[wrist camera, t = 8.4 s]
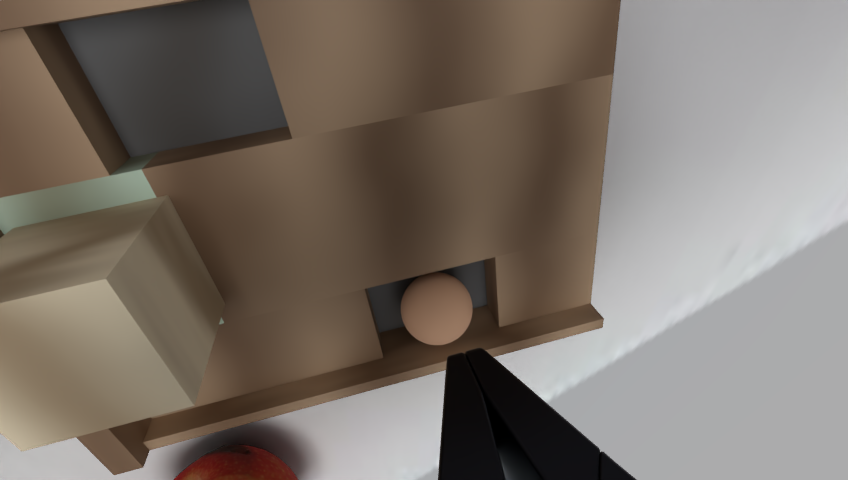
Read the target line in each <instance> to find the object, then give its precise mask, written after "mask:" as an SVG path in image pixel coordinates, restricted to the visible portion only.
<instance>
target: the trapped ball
mask: <svg viewBox="0 0 848 480" xmlns="http://www.w3.org/2000/svg"><path fill="white" fill-rule="evenodd" d="M472 312H473V306H472V300H471V297H470V294H469V292H468V290H467V289H466V287H465V286H464V285H463V284H462V283H461V282H460V281H459V280H458V279H456V278H455V277H453V276H451V275H448V274H445V273H438V272H434V273H428V274H424V275H422V276H420V277H418V278H417V279H415V280H414V281H413V282H412V283H411V284H410V285H409V286H408V287H407V289H406V291H405V292H404V294H403V297H402V301H401V316H402V320H403V323H404V325H405V327H406V329H407V330H408V331H409V333H410V334H411V335H412V336H413V337H415V338H416V339H417V340H419V341H421V342H423V343H426V344H430V345H444V344H448V343H450V342H453V341H455V340H456V339H458V338H459V337H460V336H461V335H462V334H463V333H464V332H465V331H466V329H467V328H468V326H469V324H470V321H471V318H472Z"/></svg>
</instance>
